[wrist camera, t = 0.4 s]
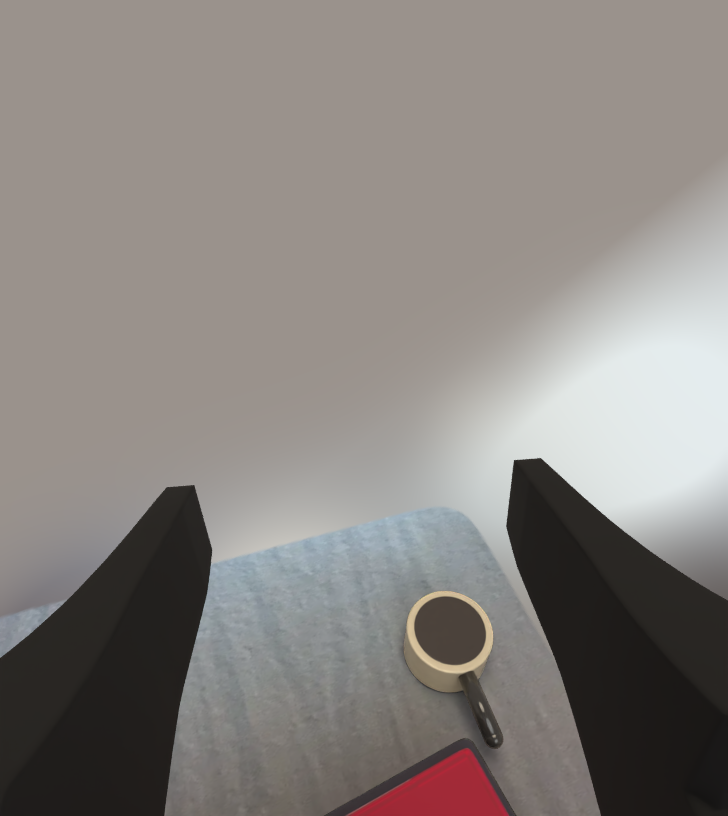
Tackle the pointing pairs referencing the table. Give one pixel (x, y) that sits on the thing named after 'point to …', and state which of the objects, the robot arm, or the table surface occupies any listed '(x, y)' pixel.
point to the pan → (452, 652)
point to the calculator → (436, 788)
